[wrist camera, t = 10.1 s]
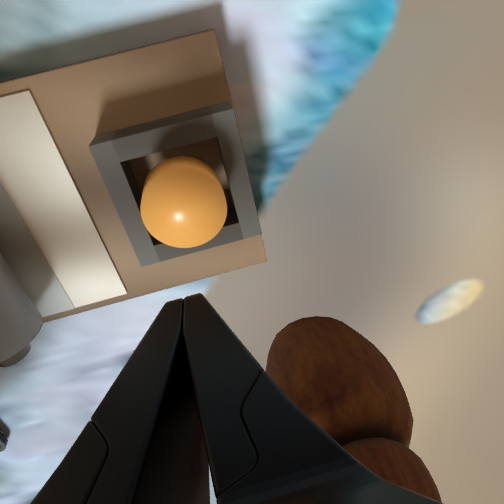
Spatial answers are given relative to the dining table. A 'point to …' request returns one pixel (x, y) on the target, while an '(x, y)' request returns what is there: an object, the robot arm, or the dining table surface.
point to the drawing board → (116, 174)
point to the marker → (15, 318)
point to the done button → (183, 202)
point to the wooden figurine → (350, 397)
